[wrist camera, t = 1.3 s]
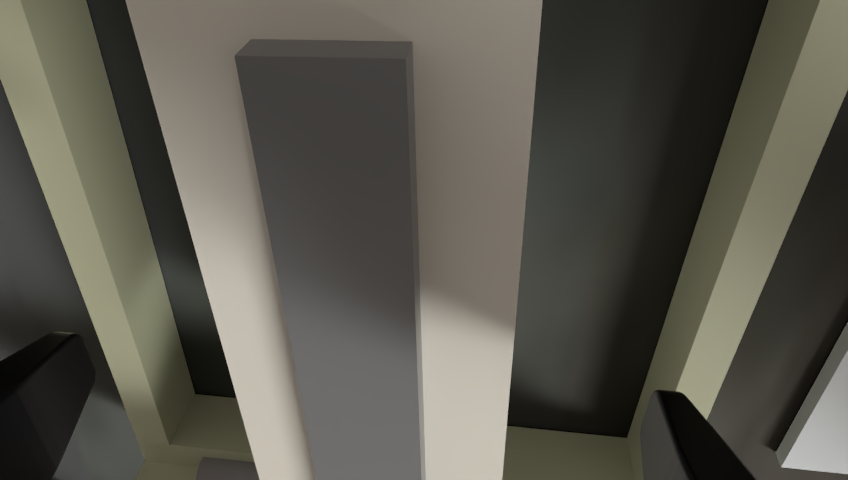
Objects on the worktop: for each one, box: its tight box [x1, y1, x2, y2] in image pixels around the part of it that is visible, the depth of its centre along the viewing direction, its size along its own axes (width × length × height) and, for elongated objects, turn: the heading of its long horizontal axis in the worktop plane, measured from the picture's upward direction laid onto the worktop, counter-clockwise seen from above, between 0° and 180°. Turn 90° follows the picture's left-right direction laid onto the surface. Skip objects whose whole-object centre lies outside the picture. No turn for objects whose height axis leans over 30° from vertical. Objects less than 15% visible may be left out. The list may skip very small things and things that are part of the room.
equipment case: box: [0, 0, 848, 480], centre depth 12 cm, size 16×21×8 cm
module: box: [125, 0, 543, 480], centre depth 13 cm, size 5×12×7 cm, turn 1°
